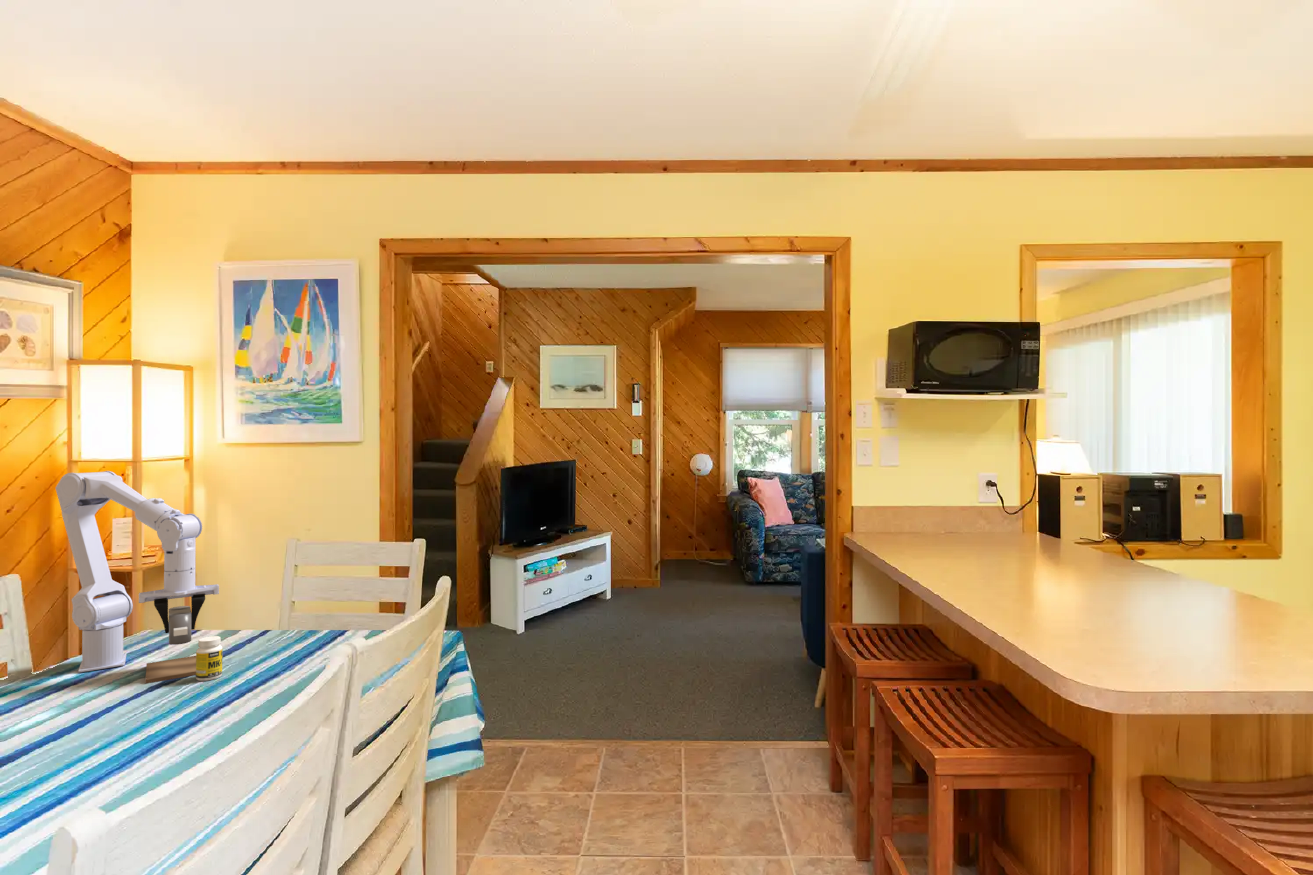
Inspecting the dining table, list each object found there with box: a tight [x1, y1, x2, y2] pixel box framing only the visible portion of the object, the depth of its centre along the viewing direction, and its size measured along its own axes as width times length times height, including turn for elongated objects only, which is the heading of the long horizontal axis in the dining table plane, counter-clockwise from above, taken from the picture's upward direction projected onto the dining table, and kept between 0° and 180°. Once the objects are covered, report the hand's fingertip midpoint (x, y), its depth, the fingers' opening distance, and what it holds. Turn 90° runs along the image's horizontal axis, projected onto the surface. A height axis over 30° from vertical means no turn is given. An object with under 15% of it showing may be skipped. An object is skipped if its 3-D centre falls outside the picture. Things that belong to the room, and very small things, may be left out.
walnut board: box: [144, 655, 196, 684], centre depth 150 cm, size 13×12×1 cm
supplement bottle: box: [195, 635, 223, 682], centre depth 144 cm, size 5×5×8 cm
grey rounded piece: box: [168, 605, 192, 646], centre depth 149 cm, size 13×4×6 cm, turn 36°
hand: (179, 630), depth 150 cm, fingers closed on grey rounded piece, 4 cm apart
